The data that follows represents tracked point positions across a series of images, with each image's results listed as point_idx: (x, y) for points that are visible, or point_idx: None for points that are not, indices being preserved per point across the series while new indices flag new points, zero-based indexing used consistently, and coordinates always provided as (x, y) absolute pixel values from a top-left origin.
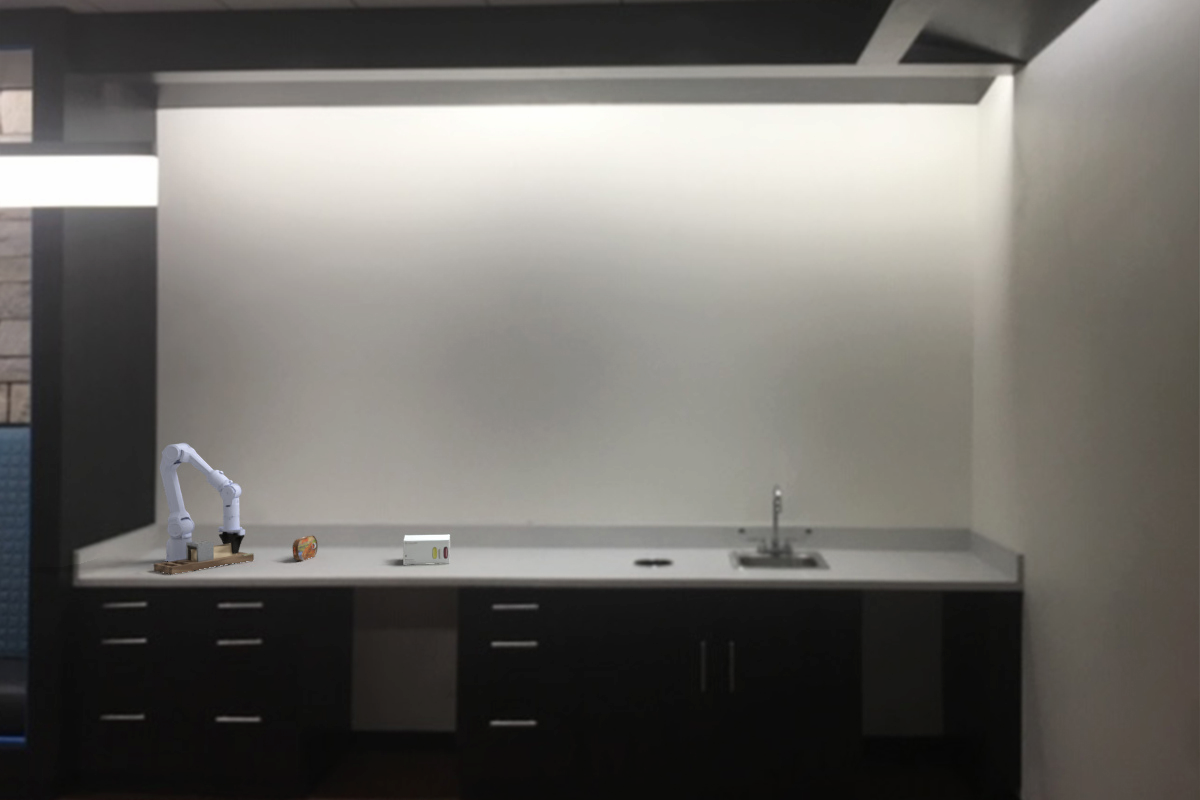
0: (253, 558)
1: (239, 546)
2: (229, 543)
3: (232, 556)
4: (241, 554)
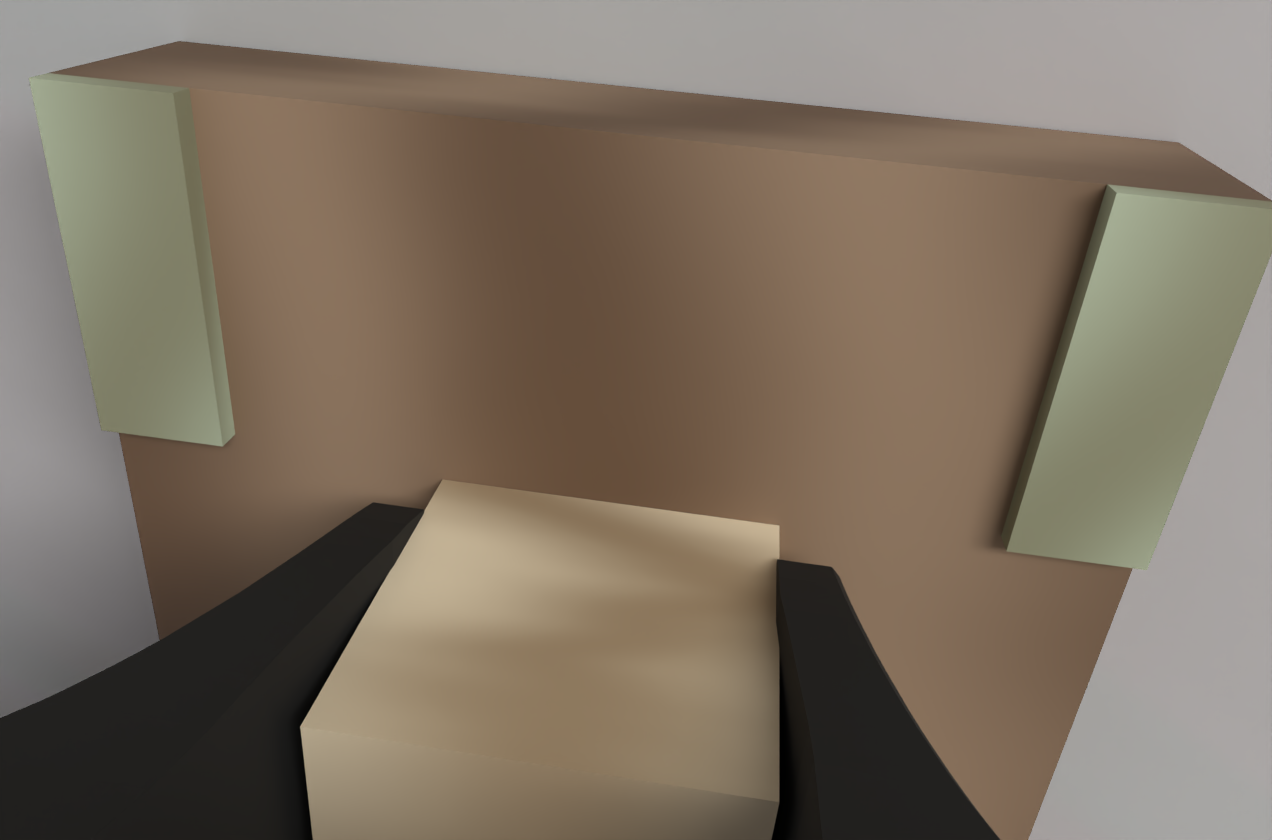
0: (1208, 169)
1: (903, 721)
2: (321, 791)
3: None
4: (840, 420)
